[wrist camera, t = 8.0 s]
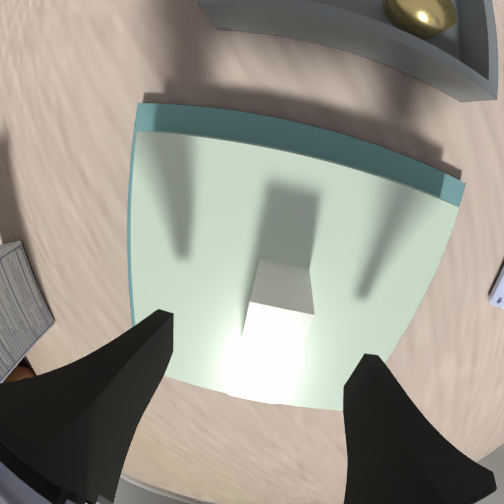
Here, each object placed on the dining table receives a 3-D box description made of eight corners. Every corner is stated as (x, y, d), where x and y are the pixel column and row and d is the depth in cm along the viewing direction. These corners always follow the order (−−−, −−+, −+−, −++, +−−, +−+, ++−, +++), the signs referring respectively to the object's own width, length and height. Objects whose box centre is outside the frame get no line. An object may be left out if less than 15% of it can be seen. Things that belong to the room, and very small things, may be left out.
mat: (460, 181, 10) (465, 183, 10) (353, 397, 17) (354, 402, 16) (143, 103, 11) (137, 103, 10) (138, 350, 18) (136, 355, 17)
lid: (440, 197, 10) (501, 233, 6) (346, 390, 16) (353, 449, 12) (156, 130, 11) (88, 135, 6) (151, 349, 16) (121, 402, 12)
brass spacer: (437, 7, 6) (454, -6, 4) (436, 49, 7) (457, 40, 6) (383, -18, 6) (395, -36, 4) (380, 24, 8) (394, 8, 6)
